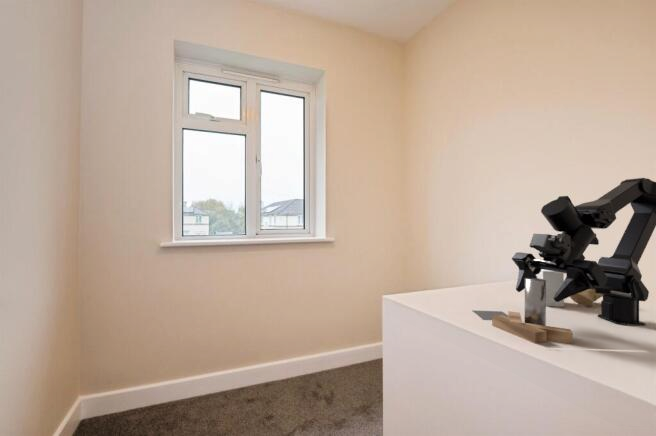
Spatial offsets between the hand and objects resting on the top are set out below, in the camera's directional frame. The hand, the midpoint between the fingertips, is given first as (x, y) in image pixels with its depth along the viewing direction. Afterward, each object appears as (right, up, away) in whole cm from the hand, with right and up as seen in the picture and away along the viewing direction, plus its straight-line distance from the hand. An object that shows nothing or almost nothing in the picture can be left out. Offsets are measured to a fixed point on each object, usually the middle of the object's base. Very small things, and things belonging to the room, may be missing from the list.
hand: (535, 295), depth 70 cm
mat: (-4, -8, +11) cm, 14 cm away
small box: (+20, -9, +25) cm, 33 cm away
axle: (0, -8, 0) cm, 8 cm away
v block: (-2, -8, -1) cm, 9 cm away
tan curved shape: (+33, -9, +24) cm, 42 cm away
